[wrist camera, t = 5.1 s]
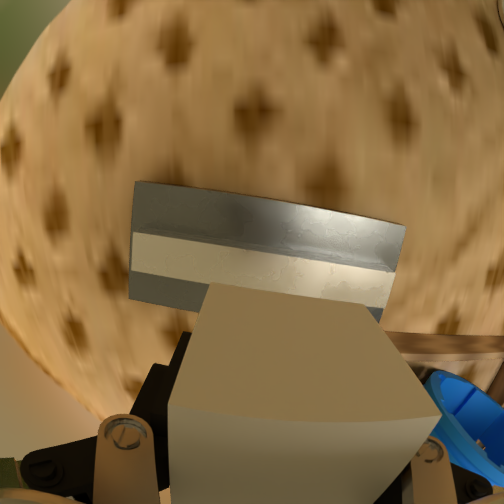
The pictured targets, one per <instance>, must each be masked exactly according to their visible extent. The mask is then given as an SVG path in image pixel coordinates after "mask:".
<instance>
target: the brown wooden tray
mask: <svg viewBox="0 0 504 504" xmlns="http://www.w3.org/2000/svg"><path fill="white" fill-rule="evenodd" d="M384 332H385V333H386V335H387V336H388V337H389V339H390V340H391V341H392V343H393V344H394V345H395V347H396V348H397V350H398V351H399V352H400V354H401V355H402V357H403V358H404V359H405V361H467V360H486V359H500V358H504V336H463V335H436V334H416V333H400V332H386V331H384ZM486 394H487V395H489V396H490V397H491V398H492V399H493V400H495V401H496V402H497V403H498V404H499V405H500V406H501V407H502V408H503V407H504V362H503V364H502V366H501V368H500V370H499V372H498V374H497V376H496V378H495V379H494V381H493V383H492V385H491V386H490V388H489V390H488V392H487V393H486ZM479 442H480V440H479V439H478V440H477V441H476V443H477V444H478V443H479Z"/></svg>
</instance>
